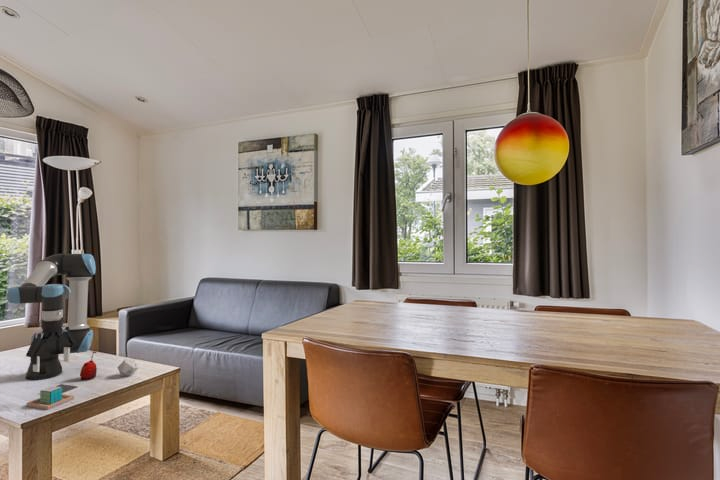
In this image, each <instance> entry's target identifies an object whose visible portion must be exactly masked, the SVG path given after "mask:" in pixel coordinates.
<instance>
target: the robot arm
mask: <svg viewBox="0 0 720 480" xmlns="http://www.w3.org/2000/svg"><path fill="white" fill-rule="evenodd" d="M96 266H97V265H96V261H95V258H94V256H93V255H92V254H90V253H58V254H57V253H55V254H52V255H49V256H47V257H45V258H43V259H41V260H40V261H39V262H38V263H37V264H36V265H35V267H34V270H33V272H32V273H31V274H30V275H29V276H28V277H27V278H26V280H24V281H23V282H22V283H21V285H20V286H11V287H10V288H9V289H8V290H7V293H6V299H7V302H8V303H9V304H13V305H14V304H15V305H16V304H18V305H20V304H22V305H23V304H39V303H40V304H41V320H42V321H41V331H39V332H35V333H34V334H33V335H32V336H31V338H30V346H29V348H28V350H27V352H26V354H25V357H27V358H28V357H29V358H30V363H29V366H28V368H27V371H26V373H25V379H26V380H32V381H36V380H37V381H38V380H44V379H50V378H54V377H58V376H60V375H61V374H63V367H62V364H61V362H60V359H59V355H63V362H70V361H71V354H79V353H80V354H81V353H85V352H89V349H90V348H91V345H92V344H93V343H92V342H93V337H94V331H93V329H90V328H91V326H90V325H88V324H87V321H88V299H89V298H88V297H89V296H88V294H89V281H90V280H91V279H92V278H93V276H94V275H95V274H96V270H97V268H96ZM54 276H65V279H66V280H68V283H69V285H68V286H67V285H66V284H60V283H51V284H47V283H48V281H50V279H51V278H53V277H54ZM66 300H68V302H67V303H68V305H67V306H68V307H67V308H68V309H67V324H66V325H65V326H64V319H63V318H64V301H66Z"/></svg>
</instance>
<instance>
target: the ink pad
mask: <svg viewBox="0 0 720 480" xmlns="http://www.w3.org/2000/svg"><path fill="white" fill-rule="evenodd" d="M55 386H56V387H62V394H66V395H70V394H71V393H74V392H76V391H78V390H80V389H82V386H78V385H72V384H64V383H60V384H57V385H55Z"/></svg>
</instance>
